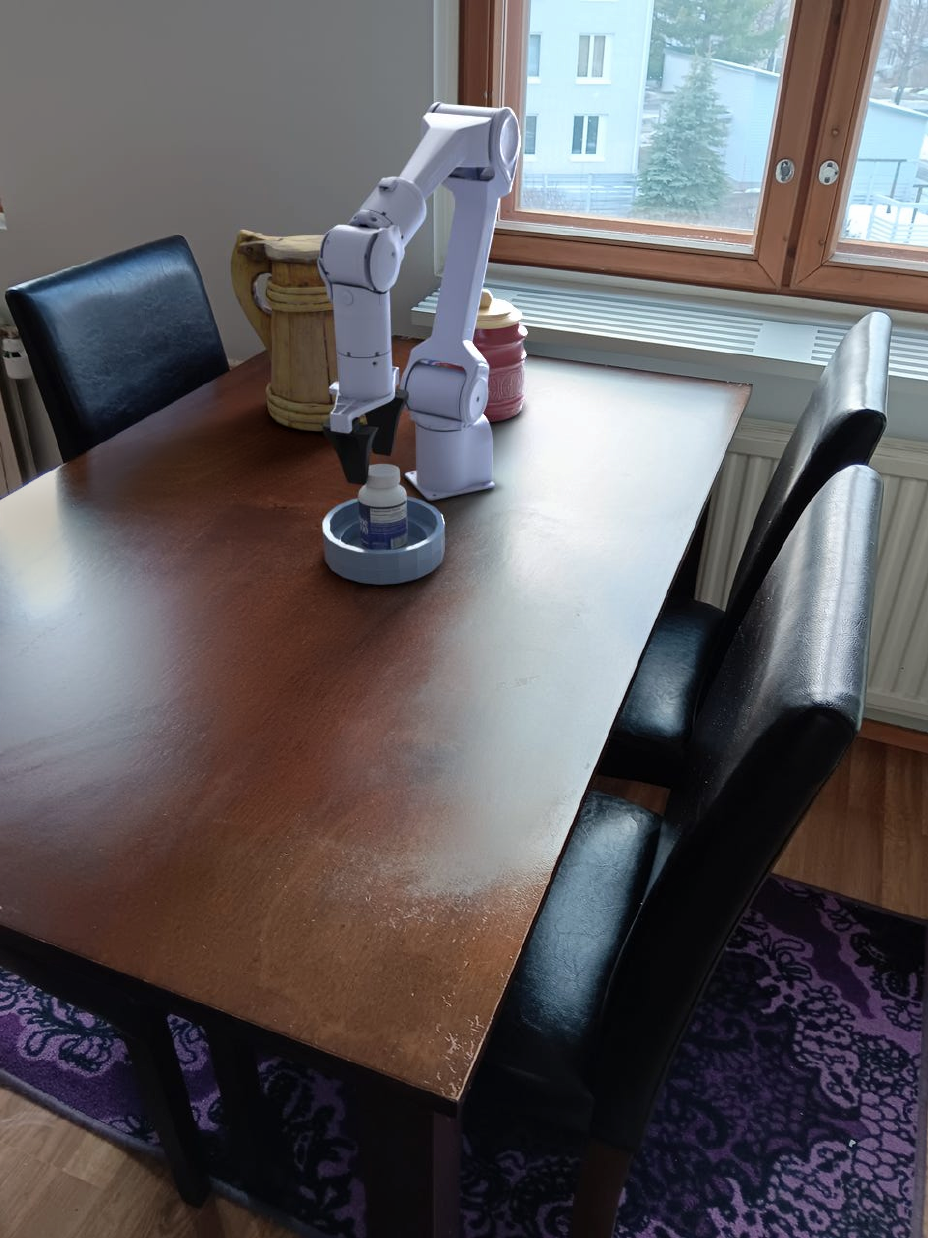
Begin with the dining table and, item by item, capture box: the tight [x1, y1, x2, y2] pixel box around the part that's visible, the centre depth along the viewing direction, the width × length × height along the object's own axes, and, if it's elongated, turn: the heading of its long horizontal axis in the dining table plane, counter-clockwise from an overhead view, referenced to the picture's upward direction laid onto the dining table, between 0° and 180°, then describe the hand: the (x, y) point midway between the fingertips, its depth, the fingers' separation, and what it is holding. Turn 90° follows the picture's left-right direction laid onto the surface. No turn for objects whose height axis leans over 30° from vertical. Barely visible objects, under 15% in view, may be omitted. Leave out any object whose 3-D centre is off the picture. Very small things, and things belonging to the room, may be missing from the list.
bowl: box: [321, 495, 446, 586], centre depth 110 cm, size 14×14×4 cm
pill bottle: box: [357, 463, 408, 550], centre depth 108 cm, size 5×5×10 cm
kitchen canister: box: [439, 288, 528, 423], centre depth 143 cm, size 13×13×18 cm
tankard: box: [230, 229, 368, 432], centre depth 140 cm, size 18×24×25 cm
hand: (370, 467), depth 108 cm, fingers open, 7 cm apart
